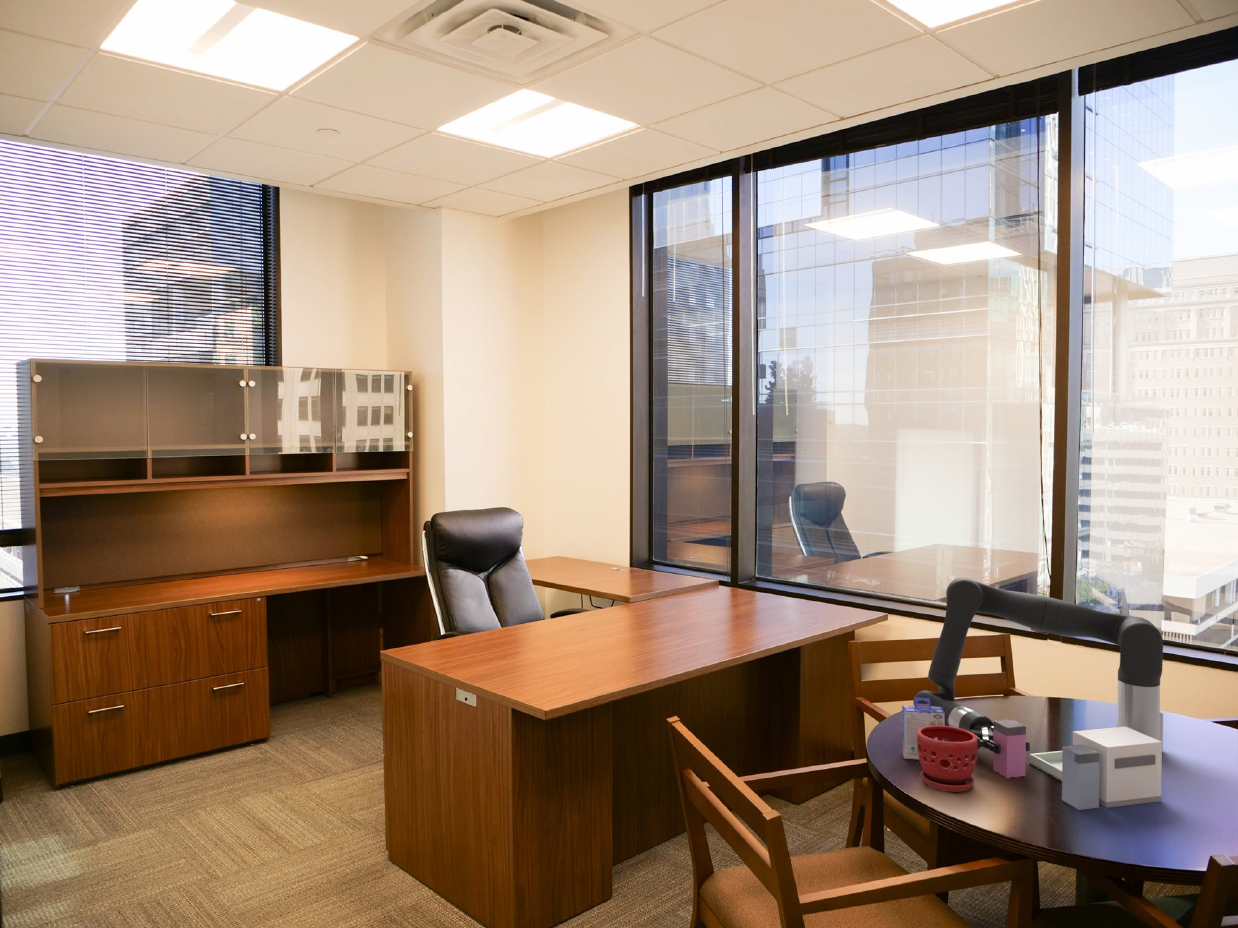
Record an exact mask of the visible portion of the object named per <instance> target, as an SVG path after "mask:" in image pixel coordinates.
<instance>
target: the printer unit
mask: <svg viewBox="0 0 1238 928" xmlns="http://www.w3.org/2000/svg"><path fill="white" fill-rule="evenodd" d="M1072 745H1084V746H1086V747H1088V748H1090V749H1093V750H1095V751H1097V752H1099V805H1101V806H1102V807H1105V808H1106V809H1107V808H1115V807H1123V806H1132V805H1140V804H1141V805H1142V804H1149V803H1150V804H1151V803H1157V802H1158V803H1159V802H1162V764H1163V763H1162V762H1163V761H1162V760H1163V759H1162V758H1163V754H1162V752H1163V751H1162V742H1161V741H1159V740H1156V739H1154V738H1152V737H1149V736H1147V735H1145V734H1142V733H1140V732H1137V731H1135V730H1133V729H1130V728H1128V727H1126V726H1124V727H1117V726H1116V727H1105V728H1097V729H1096V728H1095V729H1094V728H1093V729H1084V730H1075V731H1072Z"/></svg>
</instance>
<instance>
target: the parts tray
mask: <svg viewBox="0 0 1238 928" xmlns="http://www.w3.org/2000/svg"><path fill="white" fill-rule="evenodd" d="M1030 764H1031V766H1032V765H1033V767H1034V766H1035V767H1034V768H1036V767H1037V768H1036V769H1038V770H1039V769H1041V770H1042V771H1041V770H1040V771H1041V772H1043V771H1044V772H1043V773H1045V772H1046V773H1045V774H1046V775H1048V774H1050V775H1052V776H1053V778H1054V777H1055V778H1054V779H1056V780H1058V781H1059V780H1060V781H1059V782H1061V783H1062V750H1058V751H1057V750H1056V751H1047V752H1038V753H1029V765H1030ZM1050 775H1049V776H1050ZM1052 776H1051V777H1052Z"/></svg>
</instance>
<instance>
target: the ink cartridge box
mask: <svg viewBox="0 0 1238 928" xmlns="http://www.w3.org/2000/svg"><path fill="white" fill-rule="evenodd" d="M914 697H915V696H914ZM921 700H923V701H926V702H928V704H918V703H917V701H921ZM901 711H902V712H901V713H902V714H901V715H902V716H901V717H902V718H901V719H902V724H901V725H902V727H901V728H902V752H901V753H902V756H903V759H907V760H919V755H918V750H917V731H918V730H919V729H920V728H922V727H927V726H945V713H944V711H943V709H942V707H931V706H930V698H918V697H915V706H914V705H901ZM934 739H935V740H937V737H935V738H934ZM945 739H946V738H945ZM945 739H943V741H946V740H945Z"/></svg>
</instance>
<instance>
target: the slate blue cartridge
mask: <svg viewBox="0 0 1238 928" xmlns="http://www.w3.org/2000/svg"><path fill="white" fill-rule="evenodd" d="M1061 747H1062V750H1061V751H1062V782H1061V800H1062V801H1063V802H1064V803H1066V804H1068V805H1070V806H1071V807H1073V808H1075V809H1076V810H1078V811H1083V810H1090V809H1099V807H1100V804H1099V752H1097V751H1095V750H1093V749H1090V748H1088V747H1086V746H1084V745H1073V744H1072V745H1066V746H1065V745H1064V746H1061Z"/></svg>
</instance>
